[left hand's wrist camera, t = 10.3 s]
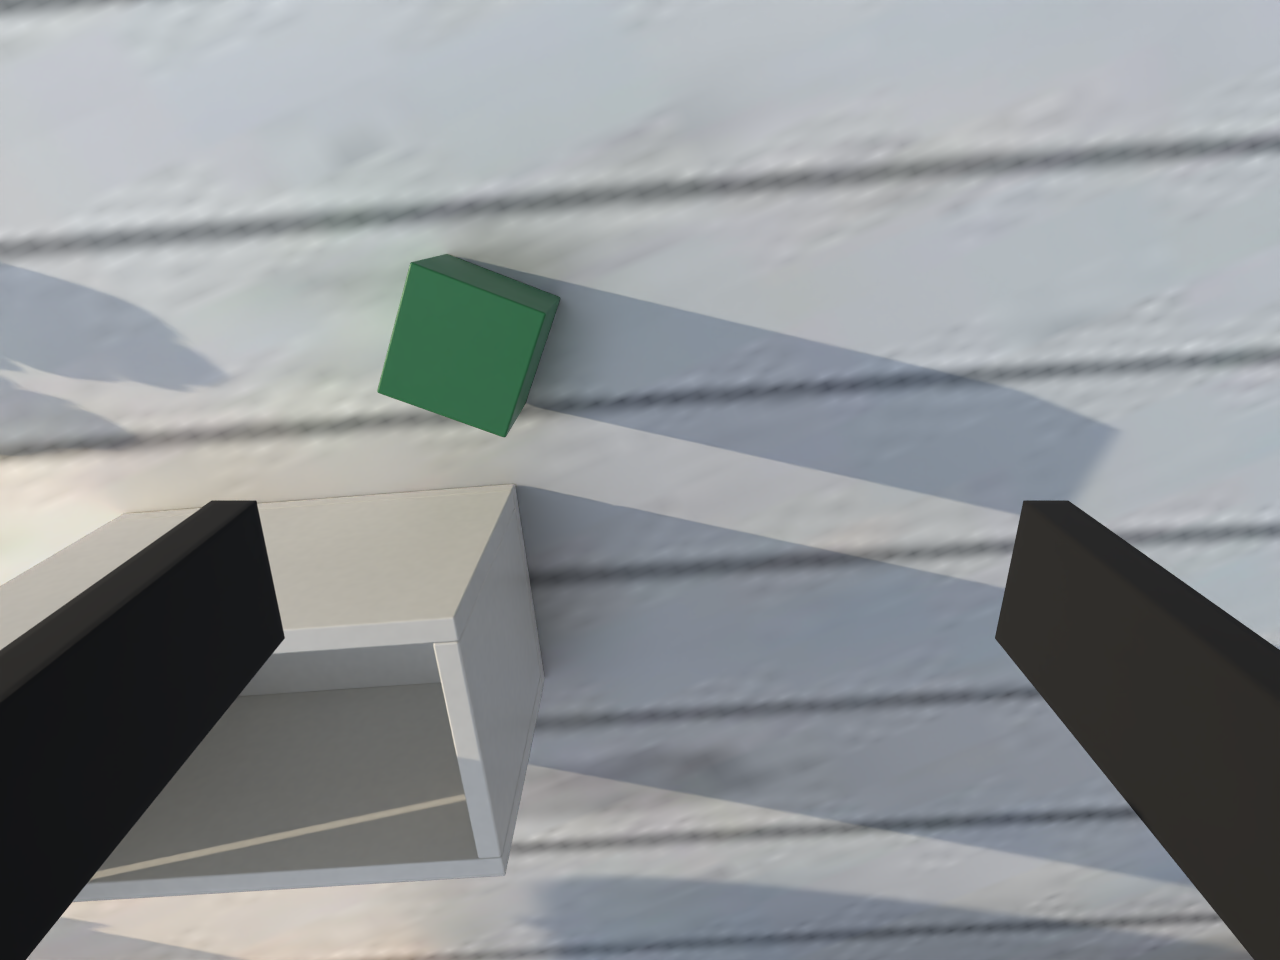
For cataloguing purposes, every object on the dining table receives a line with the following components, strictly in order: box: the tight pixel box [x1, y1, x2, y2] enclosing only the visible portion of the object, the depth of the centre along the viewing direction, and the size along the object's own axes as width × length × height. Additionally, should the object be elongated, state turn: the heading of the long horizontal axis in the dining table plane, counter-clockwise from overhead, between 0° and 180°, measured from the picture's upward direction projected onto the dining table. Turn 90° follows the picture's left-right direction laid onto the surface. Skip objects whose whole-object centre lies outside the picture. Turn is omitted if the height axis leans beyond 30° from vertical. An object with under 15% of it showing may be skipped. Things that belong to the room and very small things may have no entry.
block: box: [377, 254, 560, 437], centre depth 27 cm, size 5×5×5 cm
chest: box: [0, 484, 545, 902], centre depth 28 cm, size 17×10×11 cm, turn 95°
